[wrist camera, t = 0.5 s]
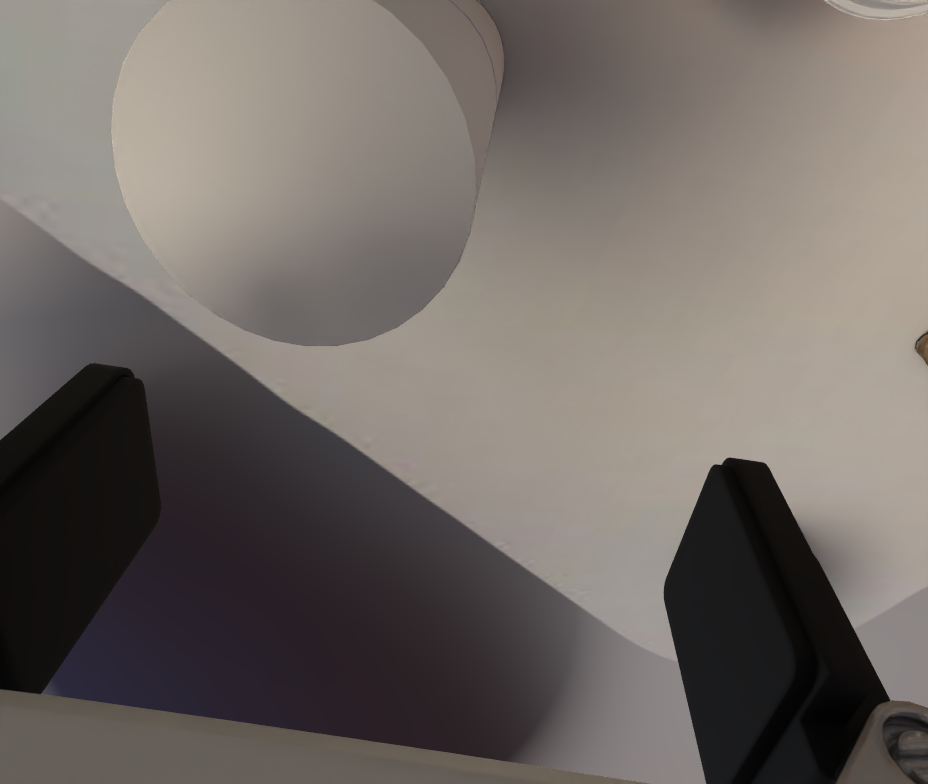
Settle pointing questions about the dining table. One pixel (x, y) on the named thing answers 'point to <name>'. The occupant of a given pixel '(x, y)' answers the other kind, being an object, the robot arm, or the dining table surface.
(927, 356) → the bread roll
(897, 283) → the dining table surface
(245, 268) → the cylindrical container
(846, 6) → the paper cup
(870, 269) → the dining table surface
